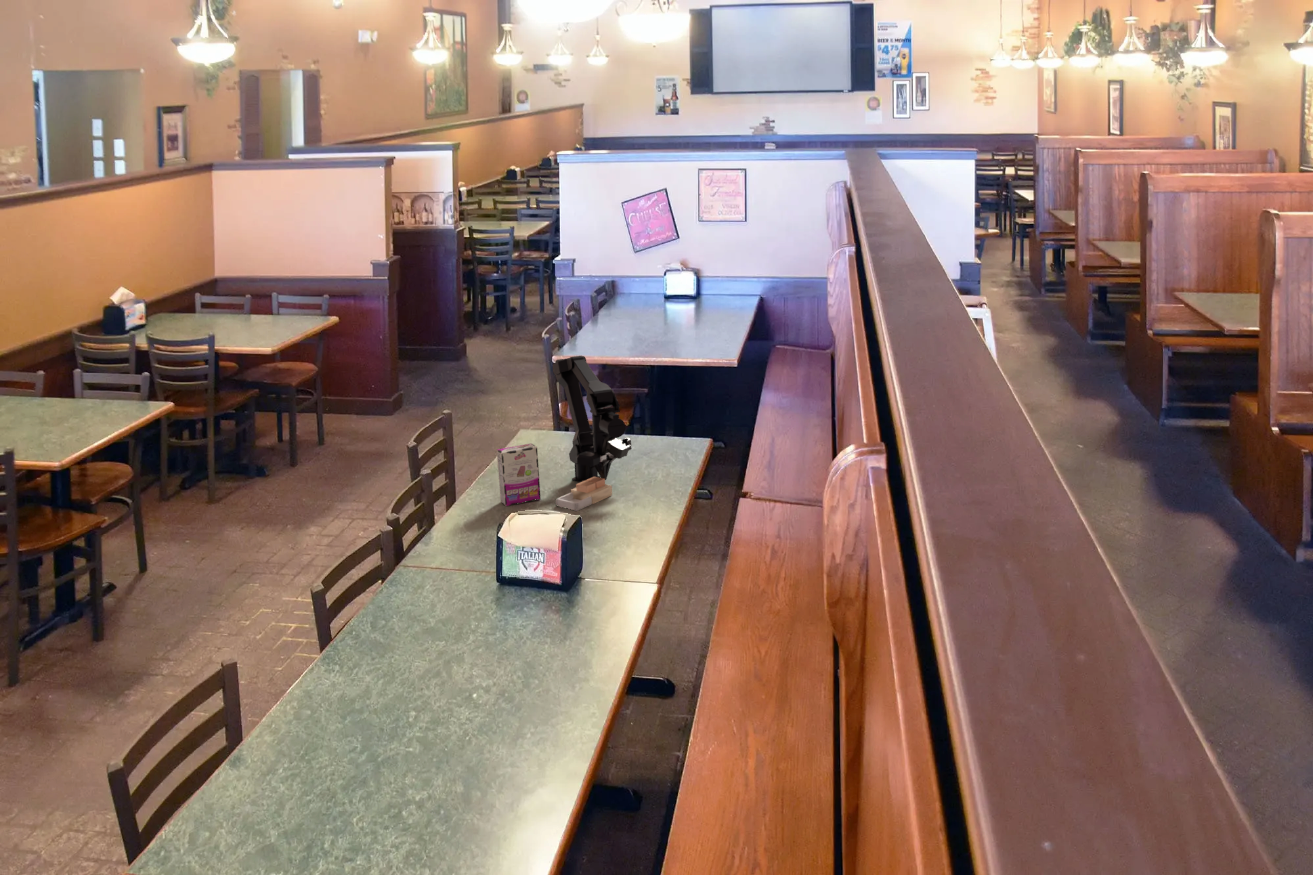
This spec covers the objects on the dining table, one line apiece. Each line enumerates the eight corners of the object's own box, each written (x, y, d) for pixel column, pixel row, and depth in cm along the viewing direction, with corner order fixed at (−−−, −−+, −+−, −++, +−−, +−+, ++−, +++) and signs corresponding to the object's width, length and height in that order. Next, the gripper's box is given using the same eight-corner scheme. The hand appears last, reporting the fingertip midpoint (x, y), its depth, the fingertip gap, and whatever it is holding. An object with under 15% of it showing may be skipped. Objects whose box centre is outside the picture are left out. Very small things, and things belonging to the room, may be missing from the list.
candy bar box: (534, 495, 341) (531, 442, 337) (541, 500, 337) (538, 446, 332) (499, 501, 336) (495, 448, 332) (505, 506, 332) (502, 452, 327)
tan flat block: (571, 499, 337) (570, 489, 336) (591, 490, 344) (590, 481, 343) (592, 504, 332) (592, 494, 332) (612, 495, 340) (611, 485, 339)
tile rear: (586, 486, 339) (585, 480, 338) (594, 482, 342) (594, 476, 341) (596, 488, 336) (596, 482, 336) (605, 485, 339) (604, 478, 339)
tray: (555, 506, 331) (555, 498, 331) (571, 499, 337) (570, 492, 336) (576, 510, 327) (576, 503, 326) (591, 504, 333) (591, 496, 332)
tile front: (576, 490, 335) (576, 484, 335) (585, 486, 338) (584, 480, 338) (587, 493, 333) (586, 486, 332) (595, 489, 336) (595, 482, 335)
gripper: (604, 441, 326) (606, 493, 330) (642, 426, 341) (644, 476, 345) (574, 436, 332) (576, 486, 336) (612, 421, 347) (614, 470, 351)
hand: (604, 480), depth 342 cm, fingers closed
